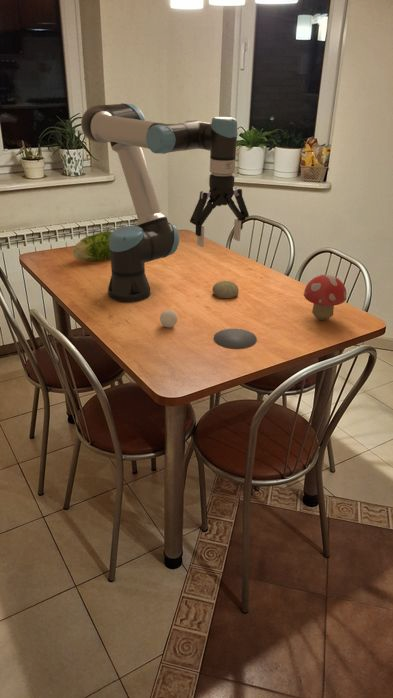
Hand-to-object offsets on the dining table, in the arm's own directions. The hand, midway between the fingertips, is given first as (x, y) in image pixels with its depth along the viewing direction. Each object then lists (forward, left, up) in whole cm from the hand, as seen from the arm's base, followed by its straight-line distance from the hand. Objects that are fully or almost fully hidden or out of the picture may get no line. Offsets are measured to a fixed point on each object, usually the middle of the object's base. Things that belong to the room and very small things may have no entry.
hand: (218, 242), depth 168 cm
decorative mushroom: (+34, +5, -23) cm, 42 cm away
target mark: (+12, -19, -23) cm, 32 cm away
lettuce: (-64, +28, -23) cm, 73 cm away
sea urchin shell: (-2, +13, -24) cm, 27 cm away
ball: (-10, -19, -20) cm, 29 cm away
